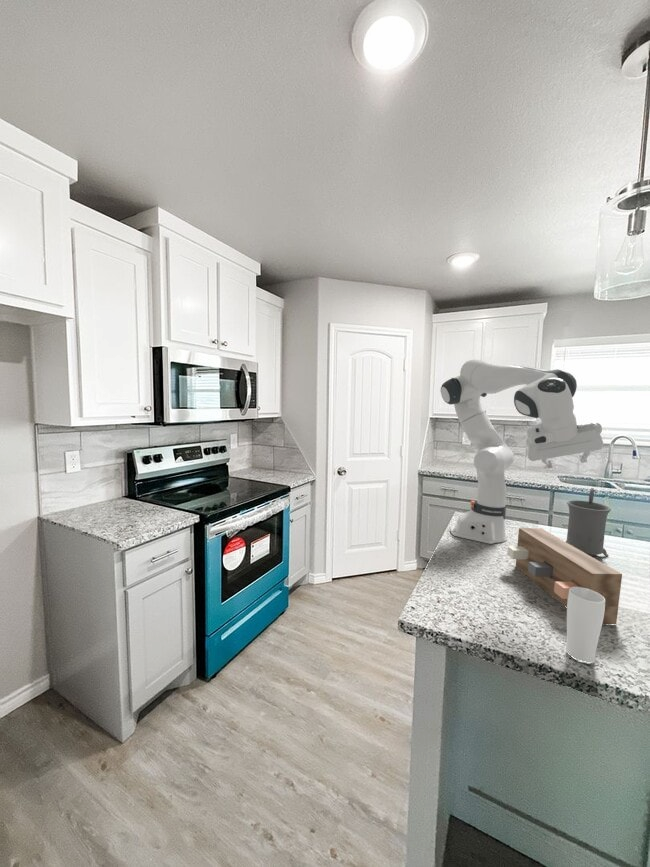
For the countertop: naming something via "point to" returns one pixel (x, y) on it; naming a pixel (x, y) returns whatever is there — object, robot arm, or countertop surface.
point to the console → (570, 568)
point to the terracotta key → (564, 588)
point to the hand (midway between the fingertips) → (566, 464)
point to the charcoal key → (540, 569)
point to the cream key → (518, 552)
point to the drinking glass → (584, 622)
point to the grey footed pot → (587, 525)
